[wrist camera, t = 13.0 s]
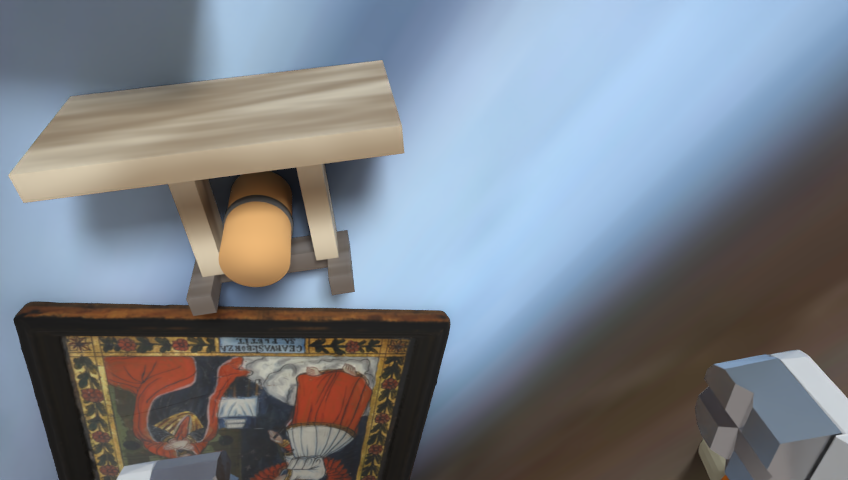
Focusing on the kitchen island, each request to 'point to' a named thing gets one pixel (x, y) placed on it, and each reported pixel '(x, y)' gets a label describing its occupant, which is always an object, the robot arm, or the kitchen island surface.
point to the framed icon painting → (233, 387)
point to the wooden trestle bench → (222, 152)
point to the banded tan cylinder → (257, 230)
